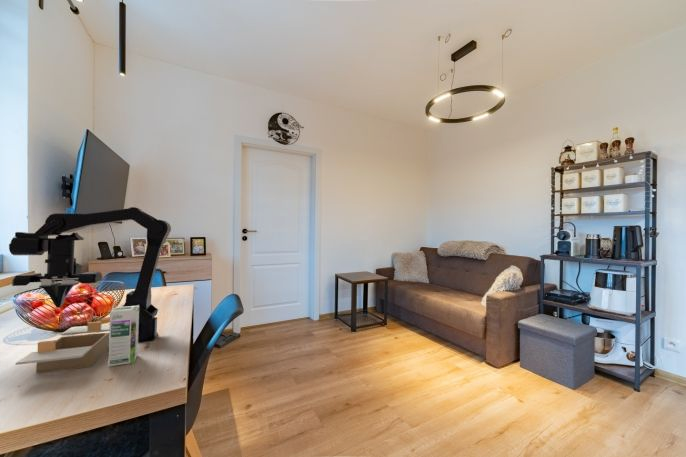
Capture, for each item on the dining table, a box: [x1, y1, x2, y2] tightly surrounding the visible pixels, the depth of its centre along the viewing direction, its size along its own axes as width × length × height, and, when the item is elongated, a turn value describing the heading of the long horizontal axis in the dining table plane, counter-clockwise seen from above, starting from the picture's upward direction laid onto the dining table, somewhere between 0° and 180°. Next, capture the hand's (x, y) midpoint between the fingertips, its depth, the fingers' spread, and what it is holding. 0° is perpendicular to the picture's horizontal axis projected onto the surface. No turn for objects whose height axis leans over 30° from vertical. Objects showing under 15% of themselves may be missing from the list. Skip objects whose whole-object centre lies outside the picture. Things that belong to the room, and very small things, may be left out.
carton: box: [35, 332, 110, 374], centre depth 78 cm, size 11×12×5 cm
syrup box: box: [107, 305, 139, 368], centre depth 78 cm, size 6×6×14 cm
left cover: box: [15, 339, 93, 366], centre depth 69 cm, size 12×6×3 cm, turn 113°
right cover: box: [61, 320, 110, 336], centre depth 87 cm, size 12×6×3 cm, turn 113°
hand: (59, 307), depth 86 cm, fingers closed
